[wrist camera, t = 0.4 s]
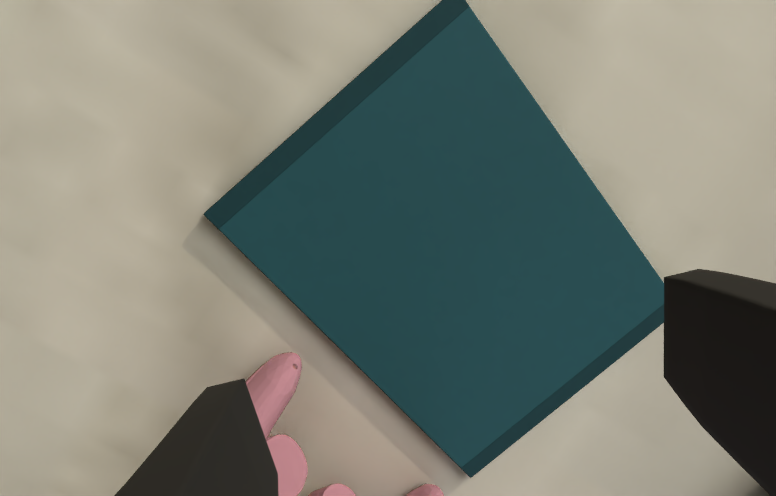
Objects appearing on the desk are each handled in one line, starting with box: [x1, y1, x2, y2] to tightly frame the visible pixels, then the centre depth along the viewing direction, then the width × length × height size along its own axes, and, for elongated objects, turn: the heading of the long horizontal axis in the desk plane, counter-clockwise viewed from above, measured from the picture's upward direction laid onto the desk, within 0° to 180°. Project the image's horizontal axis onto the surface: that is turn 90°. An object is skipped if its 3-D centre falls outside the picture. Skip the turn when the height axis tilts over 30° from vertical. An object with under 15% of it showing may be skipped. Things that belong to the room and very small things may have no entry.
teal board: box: [204, 0, 664, 478], centre depth 20 cm, size 11×15×1 cm
